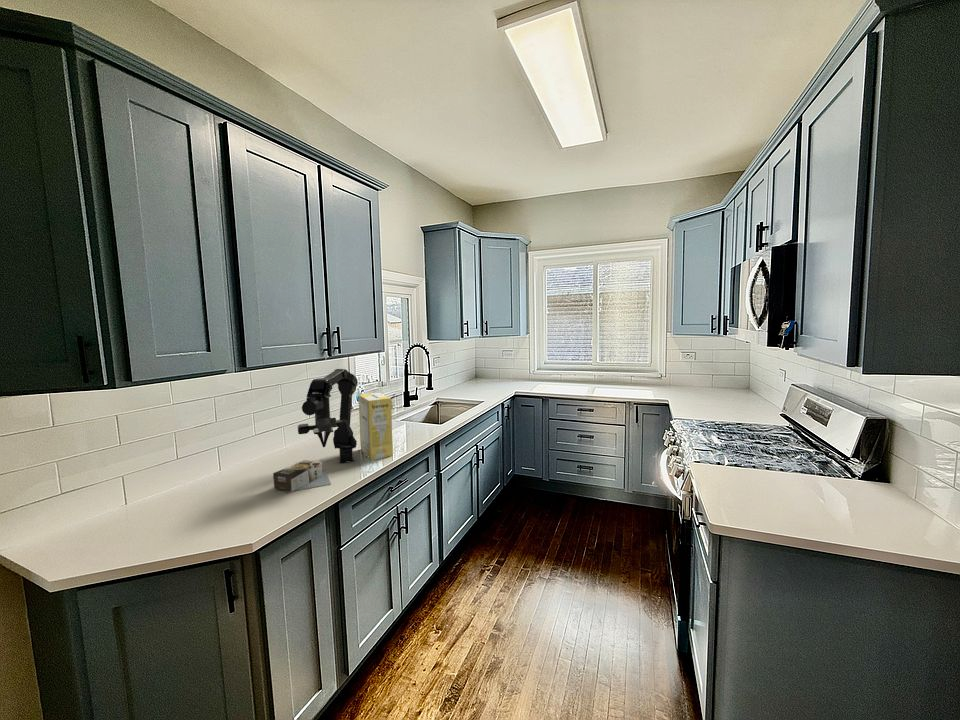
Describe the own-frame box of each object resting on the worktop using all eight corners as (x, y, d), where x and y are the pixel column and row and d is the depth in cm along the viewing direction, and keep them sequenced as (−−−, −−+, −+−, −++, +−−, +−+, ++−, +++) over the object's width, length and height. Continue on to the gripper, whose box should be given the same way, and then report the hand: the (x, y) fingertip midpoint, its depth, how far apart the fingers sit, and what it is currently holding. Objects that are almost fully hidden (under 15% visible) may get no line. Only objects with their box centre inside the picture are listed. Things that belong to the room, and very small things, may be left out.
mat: (284, 476, 166) (284, 475, 166) (325, 469, 173) (325, 469, 173) (285, 492, 150) (285, 492, 150) (330, 484, 157) (330, 483, 157)
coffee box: (321, 461, 164) (291, 476, 149) (322, 476, 165) (291, 492, 150) (304, 458, 167) (272, 472, 152) (304, 473, 168) (273, 488, 153)
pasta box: (360, 449, 201) (358, 394, 198) (381, 445, 206) (379, 392, 203) (371, 459, 185) (368, 400, 182) (392, 455, 191) (391, 398, 188)
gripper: (298, 416, 151) (300, 456, 152) (349, 411, 159) (350, 448, 161) (296, 410, 160) (298, 448, 162) (344, 405, 169) (346, 441, 170)
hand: (324, 447), depth 163 cm, fingers closed
